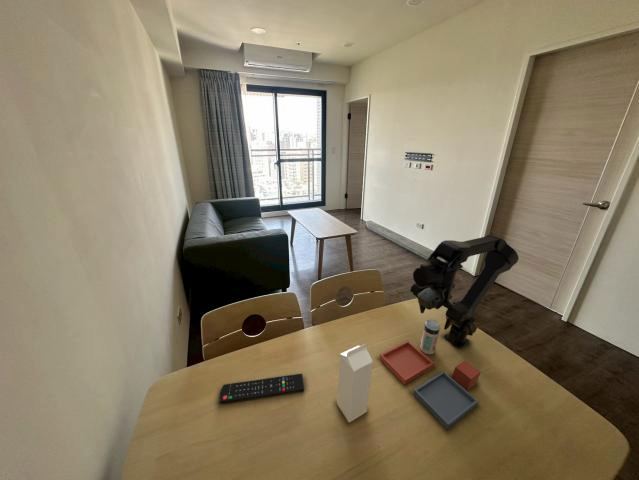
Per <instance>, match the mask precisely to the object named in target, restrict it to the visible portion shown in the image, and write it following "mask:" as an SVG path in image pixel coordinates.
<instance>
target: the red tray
mask: <svg viewBox="0 0 639 480" xmlns="http://www.w3.org/2000/svg"><path fill="white" fill-rule="evenodd" d="M379 360H380V361H381V362H382V363H383V364H384V365H385V366H386V367H387V369H389V371H390V372H391V373H392V374H393V375H394V376H395V377H396V378H397V379H398V380H399V381H400V382H401V384H403V385H404V386H405V385H407V384H409V383H410V382H412V381H414V380H415V379H417V378H418V377H420V376H422V375H424V374H425V373H427V372H429V371H430V370H432V369H434V366H435V363H434V362H433V361H432V360H431V359H430V358H429V357H428V356H426V354H425V353H424V352H423V351H421V350H419V349H418V348H417V347H416V346H415V345H413V343H412V342H410V341H409V340H407V341H404V342H402V343H400V344H399V345H396V346H395V347H393V348H391V349H388V350H386V351H385V352H382V353H381V354H380V355H379Z"/></svg>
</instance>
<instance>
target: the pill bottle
mask: <svg viewBox="0 0 639 480" xmlns="http://www.w3.org/2000/svg"><path fill="white" fill-rule="evenodd" d="M440 325H441V324H440V323H439V322H438V321H437V320H435V319H432V318H430V319H426V321H425V322H424V327H423V332H422V335H421V336H422V337H421V341H420V346H419V348H420V351H421V352H422V353H423V354H425V355H433V354H435V351H436V346H437V341H438V337H439V333H440V329H441V326H440Z"/></svg>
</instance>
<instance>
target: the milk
mask: <svg viewBox="0 0 639 480" xmlns="http://www.w3.org/2000/svg"><path fill="white" fill-rule="evenodd" d="M338 363H339V364H338V379H337V393H336V394H337V395H336V405H337V406H338V408H339V409H340V412H341V413H342V414H343V416H344V417H345V419H346V421H347V422H348V423H351V422H353V421H354V420H356V419H358V418H360V417H361V416H363V415H364V414H366V413H367V411H368V404H369V395H370V388H371V380H372V373H373V364H374V361H373V359H372V356H371V355H370V353H369V350H368V349H367V343H364V344H362V345H356V346H354V347H352V348H349V349H347V350H345V351H342V352H341V353H339V362H338Z"/></svg>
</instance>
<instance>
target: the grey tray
mask: <svg viewBox="0 0 639 480" xmlns="http://www.w3.org/2000/svg"><path fill="white" fill-rule="evenodd" d="M412 394H413V396H414V397H415V398H416V399H417V400H418V401H419V402H420V403H421V404H422V405H423V406H424V408H425V409H426V410H427V411H428V412H429V413H430V414H431V415H432V416H433V417H434V418H435V419H436V420H437V421H438V422H439V423H440V424H441V425H442V426H443V428H444V429H446V430H447V431H448V430H449V429H450V428H452V427H453V426H454V425H455V424H457V422H459V421H460V420H461V419H462V418H464V417H465V416H466V415H468V414H469V413H470V412H471V411H473V409H475V408H476V407H477V406H478V404H479V399H477V398H475V396H473V395H472V394H471V393H470V392H469V391H468V390H465V389H464V388H463V387H462V386H461V385H460V384H458V383H457V382H456V381H455V380H454V379H453V378H452V376H450V375H449V374H448V373H447V372H446V371H444V370H442V371H441V372H439V373H438V374H436V375H434V376H433V377H431V378H430V379H428V380H427V381H425V382H423V383H422V384H421V385H418V386H417V387H416V388H413V393H412Z"/></svg>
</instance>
